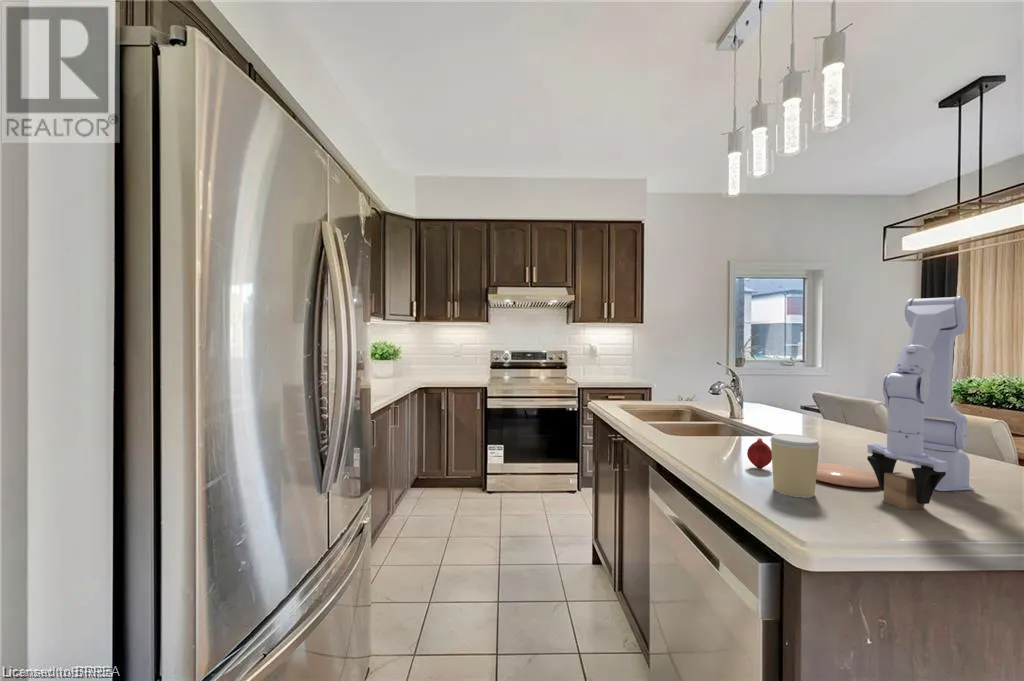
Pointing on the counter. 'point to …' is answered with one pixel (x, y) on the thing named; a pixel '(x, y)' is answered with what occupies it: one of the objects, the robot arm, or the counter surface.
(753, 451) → the onion
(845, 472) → the dish
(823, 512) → the counter surface
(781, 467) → the coffee cup
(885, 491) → the block
